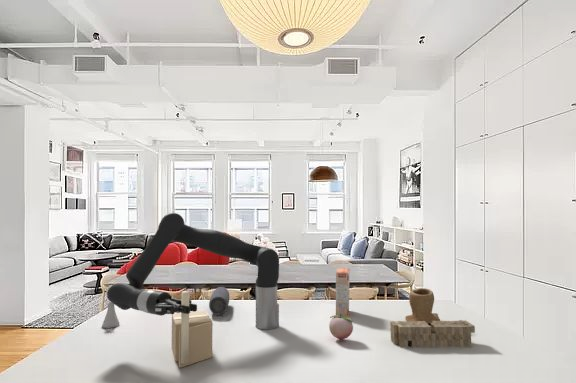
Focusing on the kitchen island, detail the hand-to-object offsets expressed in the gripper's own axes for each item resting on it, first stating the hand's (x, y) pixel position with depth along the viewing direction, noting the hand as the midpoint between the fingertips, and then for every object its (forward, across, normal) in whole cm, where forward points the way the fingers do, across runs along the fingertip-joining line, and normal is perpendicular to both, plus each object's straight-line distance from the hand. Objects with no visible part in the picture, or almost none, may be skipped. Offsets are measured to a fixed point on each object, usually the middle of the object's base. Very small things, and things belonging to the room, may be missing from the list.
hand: (192, 309), depth 123 cm
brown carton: (-11, +12, +19) cm, 25 cm away
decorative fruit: (+30, +49, +19) cm, 60 cm away
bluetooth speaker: (-38, +59, +19) cm, 73 cm away
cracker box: (+17, +84, +19) cm, 87 cm away
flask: (-62, +17, +20) cm, 68 cm away
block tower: (+61, +62, +19) cm, 89 cm away
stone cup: (+54, +88, +19) cm, 104 cm away
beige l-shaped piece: (-2, +5, +19) cm, 20 cm away
